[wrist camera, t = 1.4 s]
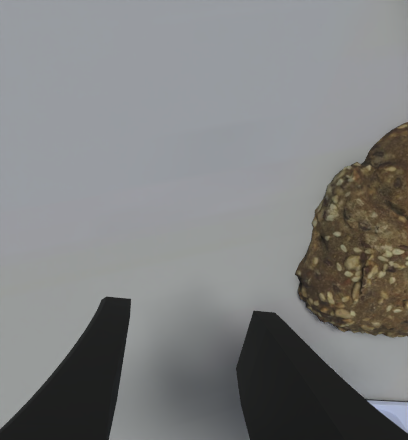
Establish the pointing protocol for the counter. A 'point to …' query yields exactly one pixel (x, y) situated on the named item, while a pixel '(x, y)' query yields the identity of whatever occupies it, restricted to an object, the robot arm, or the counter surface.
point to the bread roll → (362, 244)
